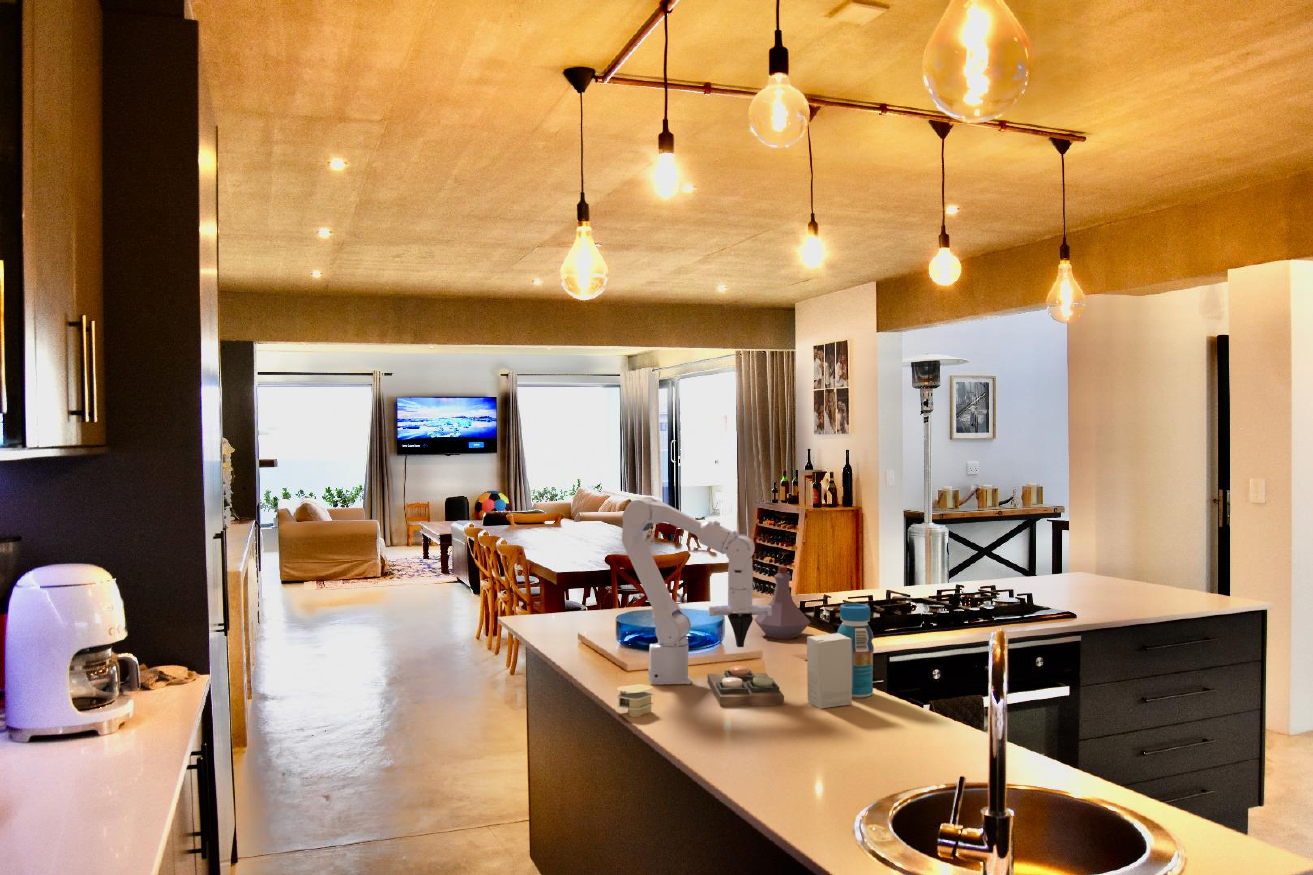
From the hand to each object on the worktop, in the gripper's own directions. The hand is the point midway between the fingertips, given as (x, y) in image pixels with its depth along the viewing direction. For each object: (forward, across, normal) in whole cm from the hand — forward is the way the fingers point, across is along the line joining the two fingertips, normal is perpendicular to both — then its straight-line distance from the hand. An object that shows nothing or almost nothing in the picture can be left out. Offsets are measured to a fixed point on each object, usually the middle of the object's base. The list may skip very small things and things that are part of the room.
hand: (739, 646), depth 229 cm
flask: (+10, +22, +55) cm, 60 cm away
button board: (+9, 0, -6) cm, 11 cm away
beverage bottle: (+10, +25, -8) cm, 28 cm away
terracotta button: (+7, 0, 0) cm, 7 cm away
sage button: (+7, +4, -10) cm, 13 cm away
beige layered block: (+10, -26, -20) cm, 34 cm away
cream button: (+7, -4, -10) cm, 13 cm away
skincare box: (+10, +17, -16) cm, 25 cm away
